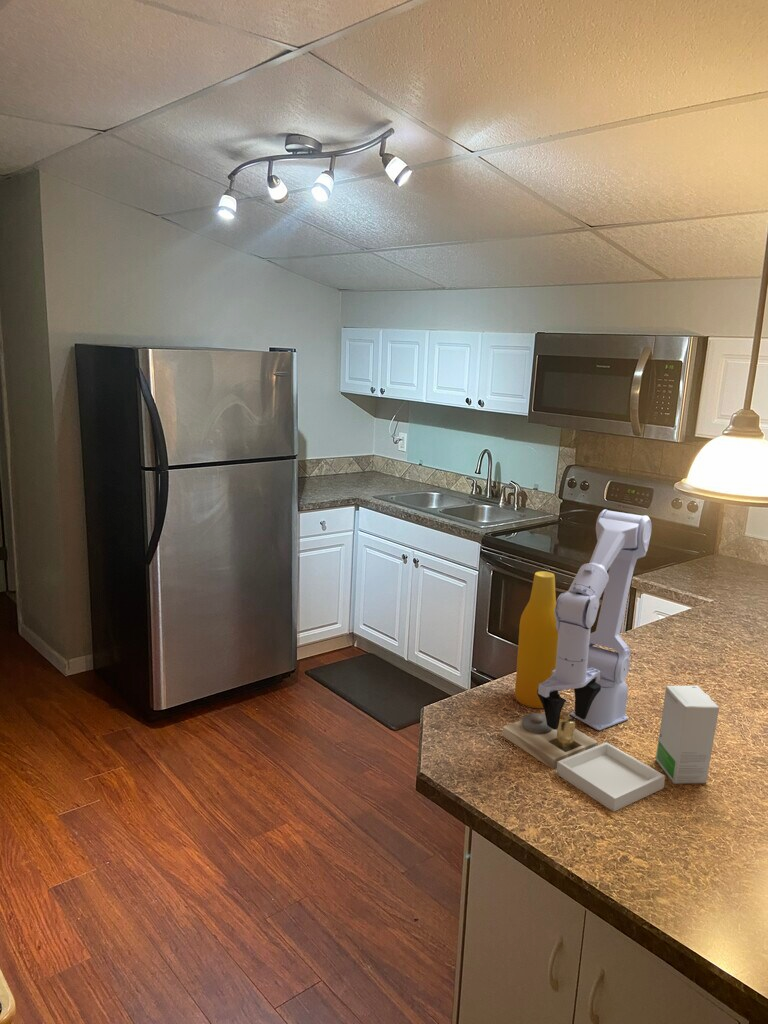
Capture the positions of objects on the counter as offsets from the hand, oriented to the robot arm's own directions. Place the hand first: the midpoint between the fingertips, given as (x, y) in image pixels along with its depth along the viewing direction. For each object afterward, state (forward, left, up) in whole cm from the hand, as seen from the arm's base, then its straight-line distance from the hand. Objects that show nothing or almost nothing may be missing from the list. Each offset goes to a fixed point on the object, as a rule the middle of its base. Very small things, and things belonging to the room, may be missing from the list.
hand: (566, 722), depth 142 cm
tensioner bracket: (0, -4, -7) cm, 8 cm away
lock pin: (0, 0, -7) cm, 7 cm away
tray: (0, +11, -7) cm, 13 cm away
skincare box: (-14, +16, -7) cm, 22 cm away
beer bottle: (-11, -19, -7) cm, 23 cm away
